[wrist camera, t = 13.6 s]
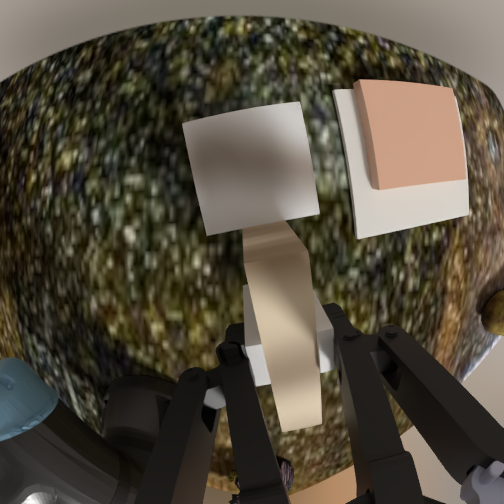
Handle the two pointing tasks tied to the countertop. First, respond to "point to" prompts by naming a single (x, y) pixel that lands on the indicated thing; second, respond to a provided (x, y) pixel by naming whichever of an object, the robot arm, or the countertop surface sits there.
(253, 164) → the scraper
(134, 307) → the countertop surface
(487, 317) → the potato
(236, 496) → the decorative flower
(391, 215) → the mat
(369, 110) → the tile
